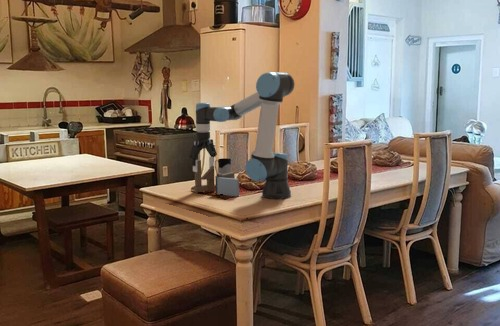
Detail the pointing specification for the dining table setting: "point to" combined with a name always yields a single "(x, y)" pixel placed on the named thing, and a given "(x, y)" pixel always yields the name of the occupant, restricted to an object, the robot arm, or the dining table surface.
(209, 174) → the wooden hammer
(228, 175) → the notched wooden plank
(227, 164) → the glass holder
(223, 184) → the door
